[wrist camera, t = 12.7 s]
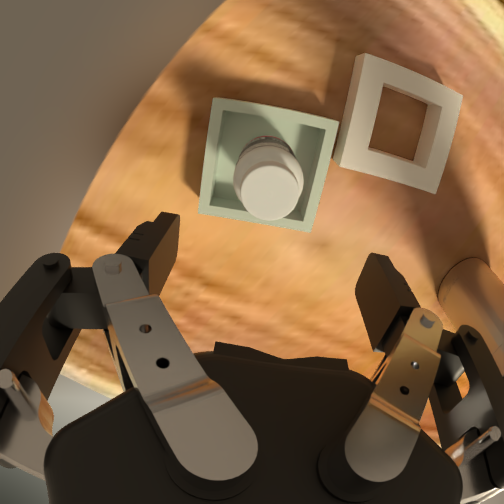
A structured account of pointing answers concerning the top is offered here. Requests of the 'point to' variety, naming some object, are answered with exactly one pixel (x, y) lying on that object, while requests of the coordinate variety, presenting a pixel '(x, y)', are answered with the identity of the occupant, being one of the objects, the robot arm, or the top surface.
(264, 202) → the pill bottle
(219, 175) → the parts tray
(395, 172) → the socket block
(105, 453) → the robot arm
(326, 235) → the top surface
